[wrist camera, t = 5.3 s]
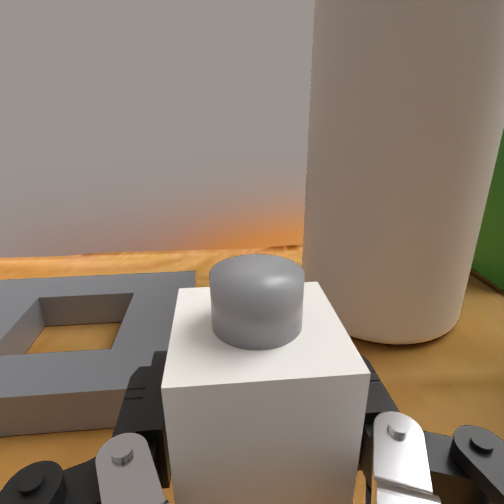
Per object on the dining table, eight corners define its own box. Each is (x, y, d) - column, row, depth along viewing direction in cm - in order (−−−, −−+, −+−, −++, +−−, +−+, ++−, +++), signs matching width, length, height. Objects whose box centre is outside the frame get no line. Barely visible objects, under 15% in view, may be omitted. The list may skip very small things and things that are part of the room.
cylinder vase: (436, 279, 36) (499, -36, 27) (481, 360, 25) (616, -137, 15) (306, 268, 39) (321, -23, 29) (292, 338, 27) (310, -102, 18)
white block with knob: (302, 498, 16) (320, 238, 12) (334, 635, 12) (379, 313, 8) (198, 509, 16) (174, 244, 11) (193, 654, 12) (153, 326, 7)
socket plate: (197, 296, 33) (195, 270, 32) (187, 421, 20) (184, 384, 19) (7, 306, 32) (-1, 279, 31) (-135, 447, 19) (-156, 409, 18)
